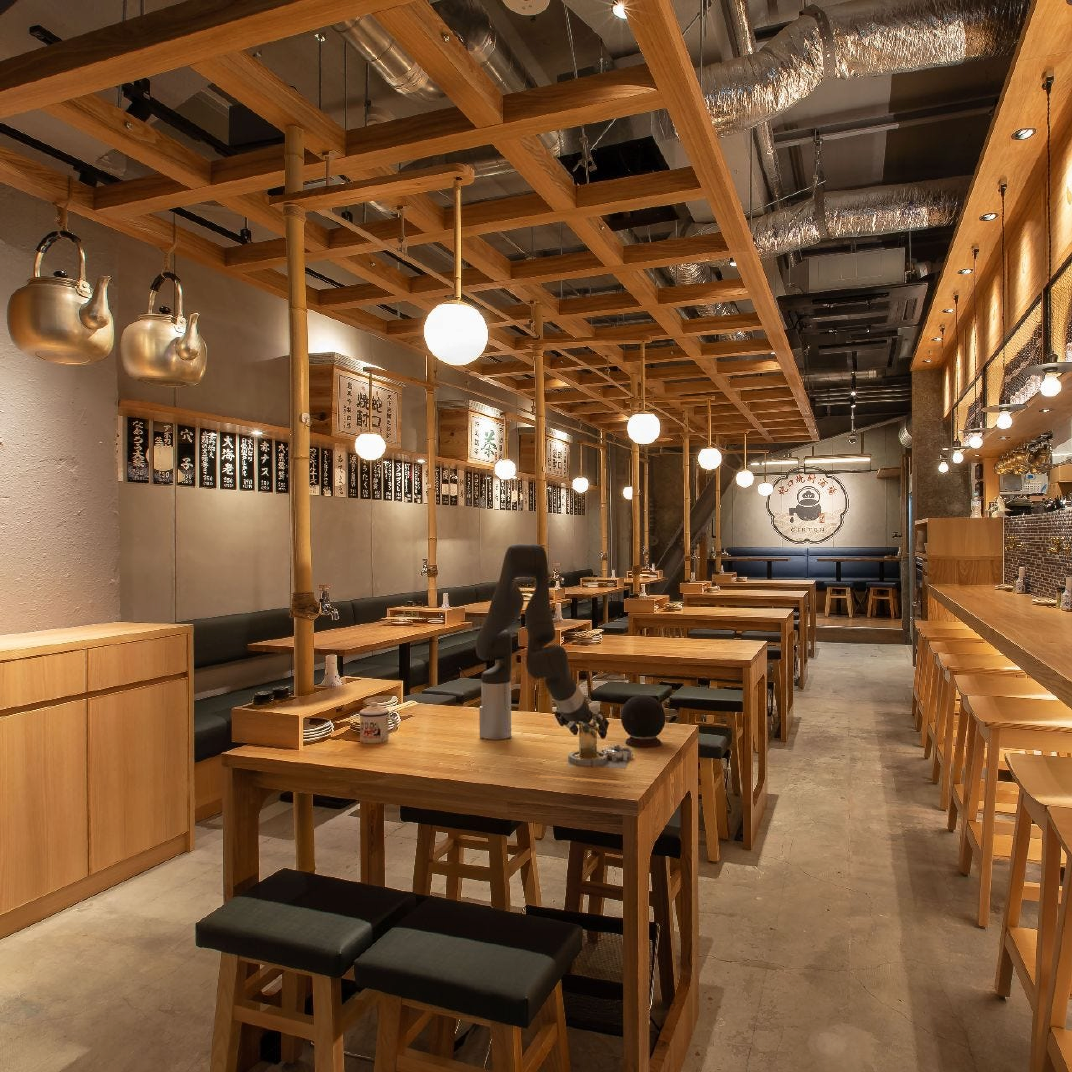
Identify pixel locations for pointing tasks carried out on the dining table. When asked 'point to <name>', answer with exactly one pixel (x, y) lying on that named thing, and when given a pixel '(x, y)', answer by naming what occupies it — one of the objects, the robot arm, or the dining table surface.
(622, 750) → the gear
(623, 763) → the gear board
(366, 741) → the teacup with lid
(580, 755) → the gear hub
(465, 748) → the dining table surface
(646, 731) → the black ball on stand
